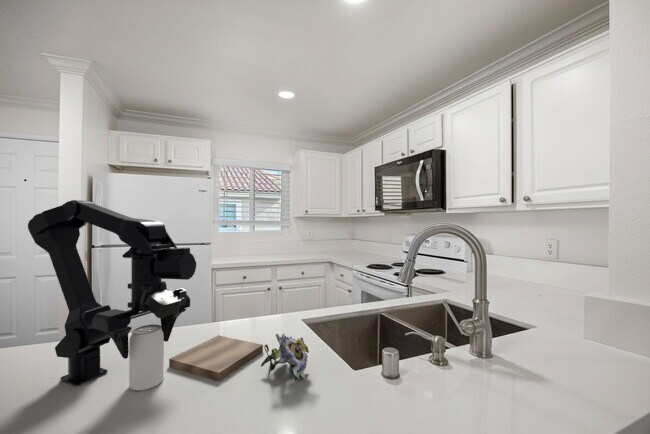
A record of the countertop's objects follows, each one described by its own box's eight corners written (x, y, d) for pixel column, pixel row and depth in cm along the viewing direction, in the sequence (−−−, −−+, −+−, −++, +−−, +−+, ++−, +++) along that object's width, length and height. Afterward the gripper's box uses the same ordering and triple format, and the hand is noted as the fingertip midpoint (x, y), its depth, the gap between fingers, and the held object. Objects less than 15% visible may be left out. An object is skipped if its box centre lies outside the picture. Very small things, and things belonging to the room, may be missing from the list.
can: (148, 393, 61) (147, 335, 61) (121, 390, 62) (121, 333, 62) (170, 377, 67) (170, 324, 68) (146, 374, 69) (146, 322, 69)
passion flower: (301, 402, 67) (308, 375, 60) (253, 394, 66) (255, 366, 60) (307, 355, 76) (314, 327, 69) (265, 348, 76) (268, 319, 69)
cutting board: (169, 367, 72) (169, 358, 72) (218, 342, 87) (218, 335, 87) (218, 381, 65) (218, 372, 65) (262, 352, 80) (262, 344, 80)
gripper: (126, 291, 53) (126, 378, 53) (207, 273, 70) (207, 339, 70) (90, 285, 58) (90, 365, 58) (174, 270, 75) (174, 332, 75)
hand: (146, 349), depth 65 cm, fingers open, 9 cm apart
